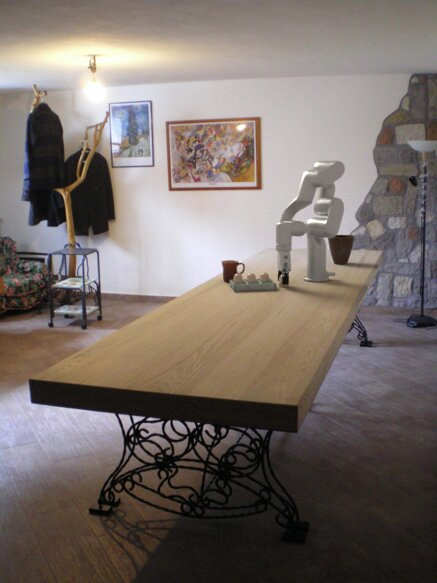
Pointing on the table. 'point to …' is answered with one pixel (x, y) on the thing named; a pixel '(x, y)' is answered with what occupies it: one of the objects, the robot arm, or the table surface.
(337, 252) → the plant pot
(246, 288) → the carton
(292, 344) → the table surface
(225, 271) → the mug
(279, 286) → the egg
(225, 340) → the table surface
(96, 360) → the table surface
